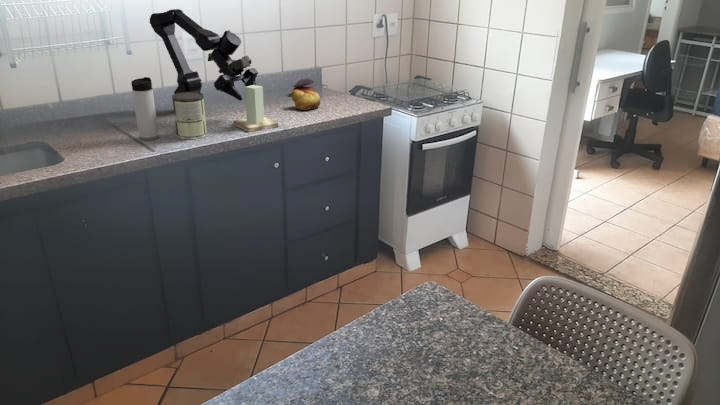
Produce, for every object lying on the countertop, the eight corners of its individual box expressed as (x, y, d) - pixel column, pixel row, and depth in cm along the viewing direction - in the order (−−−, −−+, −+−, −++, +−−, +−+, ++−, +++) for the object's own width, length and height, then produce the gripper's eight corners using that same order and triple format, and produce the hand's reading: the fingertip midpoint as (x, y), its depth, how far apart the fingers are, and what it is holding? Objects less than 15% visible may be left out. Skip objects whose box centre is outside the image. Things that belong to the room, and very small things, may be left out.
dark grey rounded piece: (296, 106, 248) (285, 87, 244) (301, 99, 256) (291, 80, 253) (317, 97, 244) (306, 77, 240) (322, 90, 253) (311, 70, 249)
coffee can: (171, 134, 189) (166, 94, 184) (197, 129, 196) (194, 90, 190) (185, 141, 183) (181, 100, 177) (212, 135, 189) (209, 95, 184)
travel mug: (163, 136, 187) (156, 78, 179) (150, 141, 181) (142, 81, 173) (148, 134, 189) (140, 76, 181) (135, 139, 183) (126, 79, 175)
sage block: (246, 122, 201) (244, 86, 195) (254, 119, 204) (253, 84, 199) (256, 124, 199) (254, 88, 193) (264, 121, 202) (262, 86, 197)
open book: (249, 132, 194) (249, 128, 194) (233, 124, 203) (233, 120, 202) (278, 126, 201) (278, 123, 201) (261, 119, 210) (261, 115, 209)
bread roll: (314, 103, 235) (314, 85, 232) (328, 108, 229) (328, 89, 226) (289, 108, 228) (289, 88, 224) (303, 112, 221) (302, 93, 218)
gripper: (217, 52, 187) (244, 88, 186) (253, 45, 202) (277, 79, 201) (202, 72, 193) (228, 107, 193) (238, 64, 208) (261, 97, 208)
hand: (249, 97), depth 199 cm, fingers open, 9 cm apart
